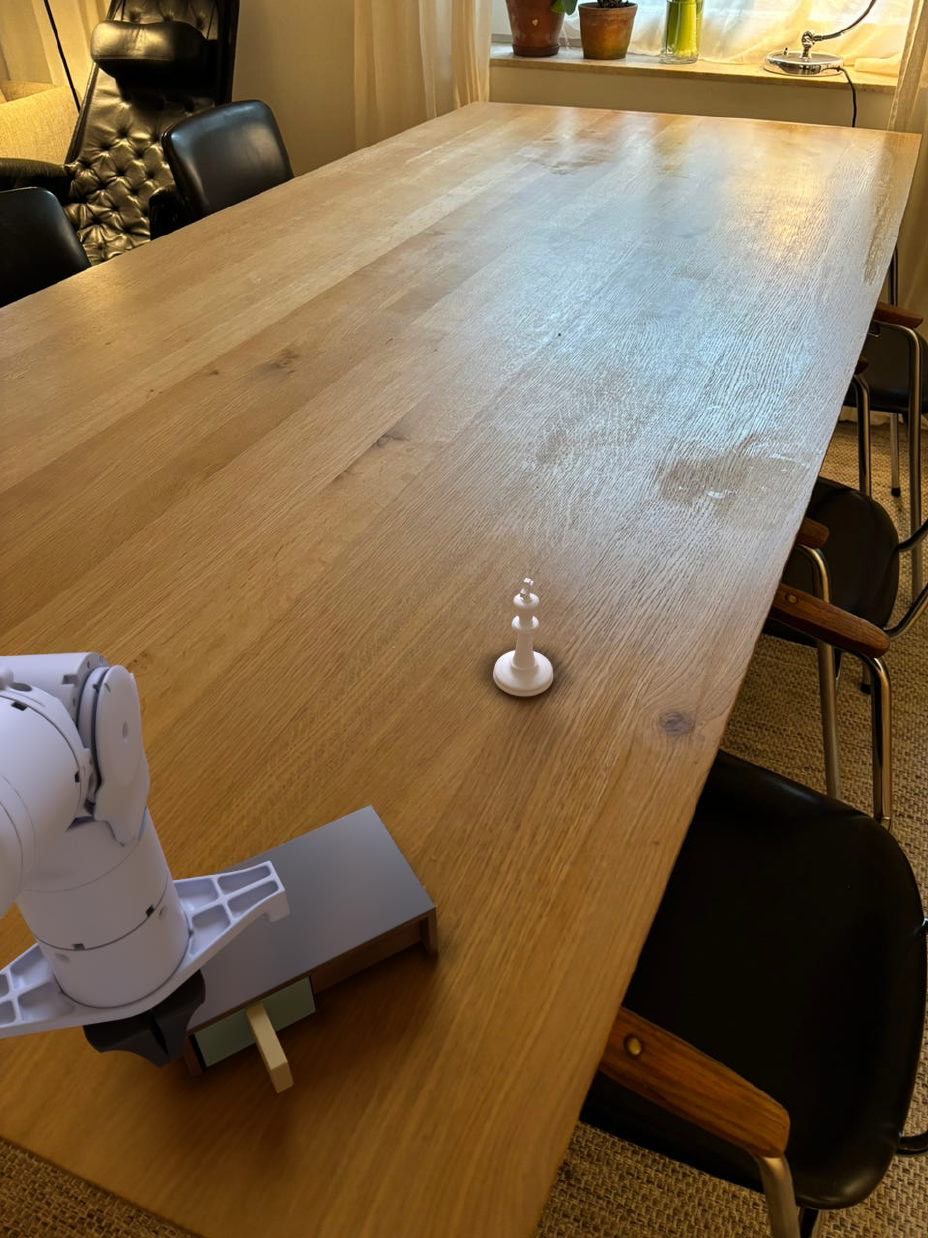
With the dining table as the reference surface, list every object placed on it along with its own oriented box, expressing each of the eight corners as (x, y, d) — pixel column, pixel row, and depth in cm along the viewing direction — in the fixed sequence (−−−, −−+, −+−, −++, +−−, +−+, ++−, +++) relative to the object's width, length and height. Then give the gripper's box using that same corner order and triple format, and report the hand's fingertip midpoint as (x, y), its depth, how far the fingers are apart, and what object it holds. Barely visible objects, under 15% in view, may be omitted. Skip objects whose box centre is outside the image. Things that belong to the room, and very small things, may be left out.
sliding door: (230, 1131, 54) (218, 1099, 52) (203, 1059, 57) (190, 1025, 55) (343, 1069, 57) (337, 1036, 54) (312, 1003, 60) (304, 968, 57)
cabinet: (193, 1079, 57) (175, 1037, 53) (148, 955, 63) (130, 910, 59) (438, 952, 63) (436, 907, 59) (376, 849, 69) (371, 803, 65)
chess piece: (561, 665, 82) (569, 570, 76) (540, 704, 79) (545, 608, 72) (507, 648, 84) (509, 554, 77) (483, 686, 81) (484, 590, 74)
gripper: (232, 755, 46) (272, 919, 55) (-107, 891, 40) (-2, 1047, 49) (291, 867, 41) (324, 1026, 50) (-84, 1037, 36) (28, 1181, 45)
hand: (165, 1045), depth 49 cm, fingers closed
